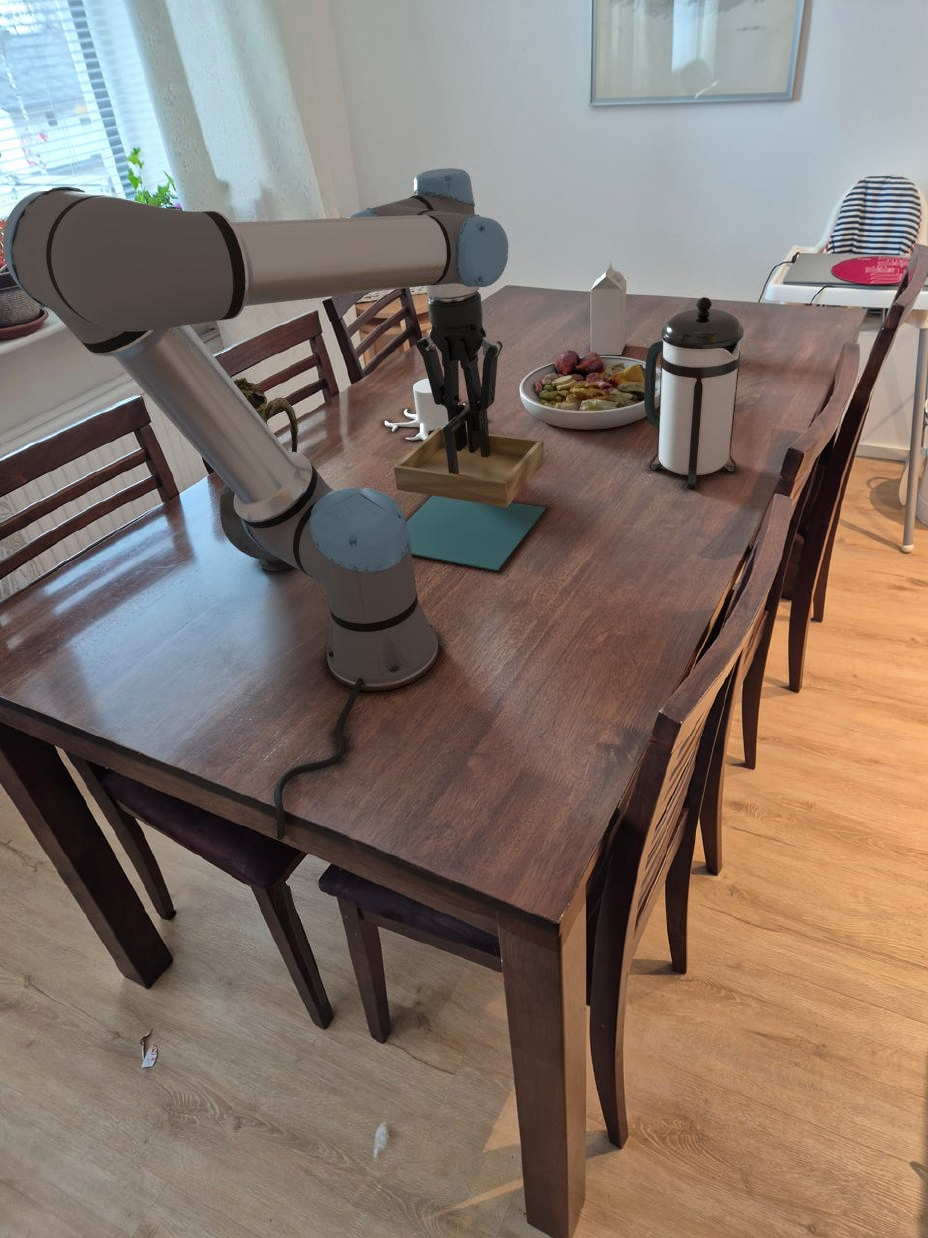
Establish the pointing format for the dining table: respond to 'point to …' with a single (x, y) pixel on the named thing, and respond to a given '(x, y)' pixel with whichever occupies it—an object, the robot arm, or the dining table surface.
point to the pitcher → (227, 511)
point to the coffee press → (695, 390)
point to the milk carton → (608, 313)
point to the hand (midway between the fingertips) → (468, 447)
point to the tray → (470, 465)
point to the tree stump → (424, 412)
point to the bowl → (588, 391)
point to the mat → (469, 531)
